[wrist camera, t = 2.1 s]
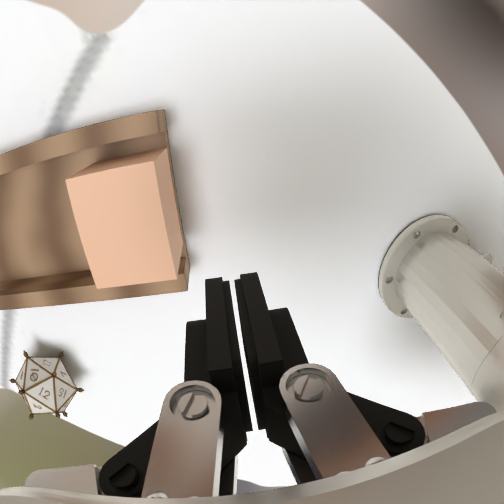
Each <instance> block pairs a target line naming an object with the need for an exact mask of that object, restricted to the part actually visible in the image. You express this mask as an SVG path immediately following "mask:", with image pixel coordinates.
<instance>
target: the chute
mask: <svg viewBox="0 0 504 504" xmlns="http://www.w3.org/2000/svg"><path fill="white" fill-rule="evenodd" d="M163 148H167V151H168V158H169V164H170V171H171V177H172V183H173V189H174V195H175V201H176V207H177V212H178V218H179V224H180V229H181V234H182V240H183V246H182V252H181V258H180V264H179V270H178V276H177V279H175V280H167V281H159V282H151V283H143V284H135V285H126V286H118V287H110V288H101V289H97V288H96V285H95V282H94V279H93V276H92V273H91V270H90V267H89V264H88V261H87V258H86V255H85V252H84V248H83V245H82V242H81V238H80V235H79V232H78V228H77V224H76V221H75V217H74V213H73V210H72V206H71V202H70V198H69V193H68V189H67V185H66V179H67V178H69V177H71V176H72V175H74V174H76V173H77V172H79V171H81V170H83V169H84V168H86V167H88V166H89V165H91V164H93V163H95V162H98V161H102V160H107V159H111V158H116V157H121V156H126V155H131V154H136V153H141V152H146V151H152V150H157V149H163ZM189 272H190V265H189V260H188V255H187V250H186V244H185V239H184V234H183V228H182V223H181V217H180V212H179V206H178V200H177V194H176V188H175V182H174V176H173V169H172V163H171V156H170V149H169V142H168V135H167V128H166V120H165V112H164V110H156V111H151V112H146V113H141V114H136V115H131V116H127V117H122V118H118V119H113V120H109V121H105V122H101V123H97V124H93V125H90V126H86V127H82V128H79V129H75V130H72V131H68V132H65V133H61V134H58V135H55V136H52V137H49V138H46V139H43V140H40V141H37V142H34V143H31V144H28V145H25V146H22V147H20V148H17V149H14V150H12V151H9V152H6V153H4V154H1V155H0V310H7V309H20V308H32V307H43V306H54V305H65V304H75V303H85V302H95V301H104V300H114V299H123V298H132V297H141V296H149V295H158V294H166V293H175V292H183V291H188V282H189Z"/></svg>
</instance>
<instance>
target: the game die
mask: <svg viewBox="0 0 504 504" xmlns="http://www.w3.org/2000/svg"><path fill="white" fill-rule="evenodd" d="M23 355H24V356H25V357H26V360H25V362H24V364H23V366H22V368H21V370H20V372H19V374H18V376H17V378H16V380H14V379H11V380H10V381H11V383H16V385H17V387H18V389H19V394H21V395H22V397H23V398H24V400H25V402H26V404H27V406H28V408H29V410H30V412H31V414H30V416H29V418H30V420H31V419H33V415H34V414H51V413H55V415H56V417H58V418H60V414H59V413H63V415H64V416H66V417H67V413H66V412H65V409H66V408H67V406H68V405H69V403H70V401H71V400H72V398H73V397H74V395H75V394H76V392H77V391H79V392H82V391H84V390H83V389H82V388H77V387H76V386H75V384H74V382H73V380H72V379H71V377H70V375H69V373H68V371H67V370H66V368H65V366H64V364H63V362H62V360H61V357H62V356H63V352H61V353H60V354H59V357H29V356H28V354H27V352H25V351H24V354H23Z"/></svg>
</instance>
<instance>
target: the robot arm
mask: <svg viewBox="0 0 504 504" xmlns="http://www.w3.org/2000/svg"><path fill="white" fill-rule="evenodd" d="M491 262H492V255H491V254H490V253H489V252H487V253H482V254H479V253H478V252H476V251H475V250H474V249H472V248H471V247H470V246H469V240H468V236H467V234H466V232H465V230H464V228H463V227H462V226H461V225H460V224H459V223H458V222H456V221H455V220H453V219H452V218H450V217H447V216H444V215H431V216H427V217H424V218H421V219H420V220H418V221H416V222H414V223H413V224H411V225H410V226H409V227H407V228H406V229H405V230H404V231H403V232H402V233H401V234H400V235H399V236H398V237H397V238H396V240H395V241H394V242H393V244H392V245H391V247H390V248H389V250H388V252H387V254H386V256H385V258H384V260H383V263H382V266H381V269H380V275H379V291H380V295H381V298H382V300H383V302H384V303H385V305H386V306H387V307H388V308H389V310H390V311H392V312H393V313H394V314H396V315H398V316H400V317H406V318H413V317H414V318H415V320H416V321H417V322H418V323H419V325H420V326H421V327H422V328H423V330H424V331H425V332H426V333H427V335H428V336H429V337H430V338H431V340H432V341H433V342H434V344H435V345H436V346H437V347H438V349H439V350H440V351H441V353H442V354H443V355H444V357H445V358H446V359H447V361H448V362H449V363H450V365H451V366H452V367H453V369H454V370H455V371H456V373H457V374H458V375H459V377H460V378H461V379H462V381H463V382H464V384H465V385H466V386H467V388H468V389H469V391H470V392H471V393H472V395H473V396H474V397H475V399H476V400H477V402H473V403H469V404H465V405H461V406H456V407H451V408H446V409H441V410H436V411H431V412H425V413H422V415H421V416H420V417H414V416H412V415H410V414H408V413H405V412H402V411H399V410H396V409H393V408H390V407H387V406H384V405H381V404H378V403H376V402H373V401H370V400H367V399H365V398H362V397H359V396H356V395H354V394H351V393H349V392H346V390H345V389H344V387H343V386H342V384H341V383H340V381H339V380H338V378H337V377H336V375H335V374H334V373H333V372H332V371H331V370H330V369H328V368H326V367H324V366H322V365H318V364H309V363H308V360H307V358H306V355H305V352H304V350H303V347H302V344H301V342H300V339H299V336H298V334H297V331H296V329H295V326H294V323H293V321H292V318H291V316H290V313H289V311H288V308H280V309H274V310H268V307H267V304H266V301H265V297H264V294H263V291H262V287H261V284H260V281H259V277H258V274H257V272H255V273H248V274H241V275H240V278H241V279H237V280H234V281H235V289H236V296H237V303H238V310H239V317H240V324H241V331H242V338H243V345H244V351H245V357H246V363H247V368H248V374H249V380H250V385H251V391H252V396H253V402H254V407H255V413H256V418H257V424H258V429H259V430H261V429H266V433H267V438H269V441H271V442H273V443H275V444H277V445H278V446H280V447H282V450H283V453H284V456H285V458H286V460H287V462H288V465H289V467H290V469H291V471H292V474H293V476H294V478H295V480H296V482H297V484H298V485H294V486H289V487H284V488H278V489H273V490H266V491H260V492H252V493H246V494H236V490H237V469H238V456H237V454H238V453H239V452H240V451H241V450H242V449H243V448H244V447H245V446H246V445H247V442H246V441H247V436H246V432H248V431H253V429H252V423H251V417H250V411H249V405H248V399H247V393H246V387H245V381H244V375H243V368H242V362H241V356H240V349H239V343H238V337H237V330H236V324H235V317H234V311H233V304H232V297H231V291H230V284H229V281H223V280H222V277H219V278H212V279H205V295H206V319H205V320H197V321H189V322H187V324H186V343H185V372H184V383H181V384H178V385H177V386H175V387H174V388H172V389H171V390H170V391H169V392H168V393H167V395H166V397H165V399H164V402H163V406H162V409H161V413H160V418H159V420H158V421H157V422H156V423H154V424H153V425H152V426H151V427H150V428H148V429H147V430H146V431H145V432H143V433H142V434H141V435H140V436H138V437H137V438H136V439H135V440H133V441H132V442H131V443H130V444H128V445H127V446H126V447H125V448H123V449H122V450H121V451H119V452H118V453H117V454H116V455H114V456H113V457H112V458H110V459H109V460H108V461H107V462H106V463H105V464H104V465H103V466H99V467H97V466H95V464H90V465H83V466H75V467H65V468H56V469H55V468H54V469H42V470H37V471H34V472H33V473H31V474H30V475H29V476H28V478H27V479H26V482H25V487H11V488H3V489H0V504H504V273H503V272H501V271H500V270H499V269H498V268H496V267H495V266H494V265H492V264H491Z"/></svg>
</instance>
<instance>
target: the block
mask: <svg viewBox="0 0 504 504" xmlns="http://www.w3.org/2000/svg"><path fill="white" fill-rule="evenodd" d="M66 185H67V189H68V193H69V198H70V202H71V206H72V210H73V213H74V217H75V221H76V224H77V228H78V232H79V235H80V238H81V242H82V245H83V248H84V252H85V255H86V258H87V261H88V264H89V267H90V270H91V273H92V276H93V279H94V282H95V285H96V288H97V289H101V288H110V287H118V286H126V285H135V284H143V283H151V282H159V281H167V280H175V279H177V276H178V270H179V264H180V258H181V252H182V246H183V240H182V234H181V229H180V224H179V218H178V212H177V207H176V201H175V195H174V189H173V183H172V177H171V171H170V164H169V158H168V151H167V148H163V149H157V150H152V151H146V152H141V153H136V154H131V155H126V156H121V157H116V158H111V159H107V160H102V161H98V162H95V163H93V164H91V165H89V166H88V167H86V168H84V169H83V170H81V171H79V172H77V173H76V174H74V175H72V176H71V177H69V178H67V179H66Z"/></svg>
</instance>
